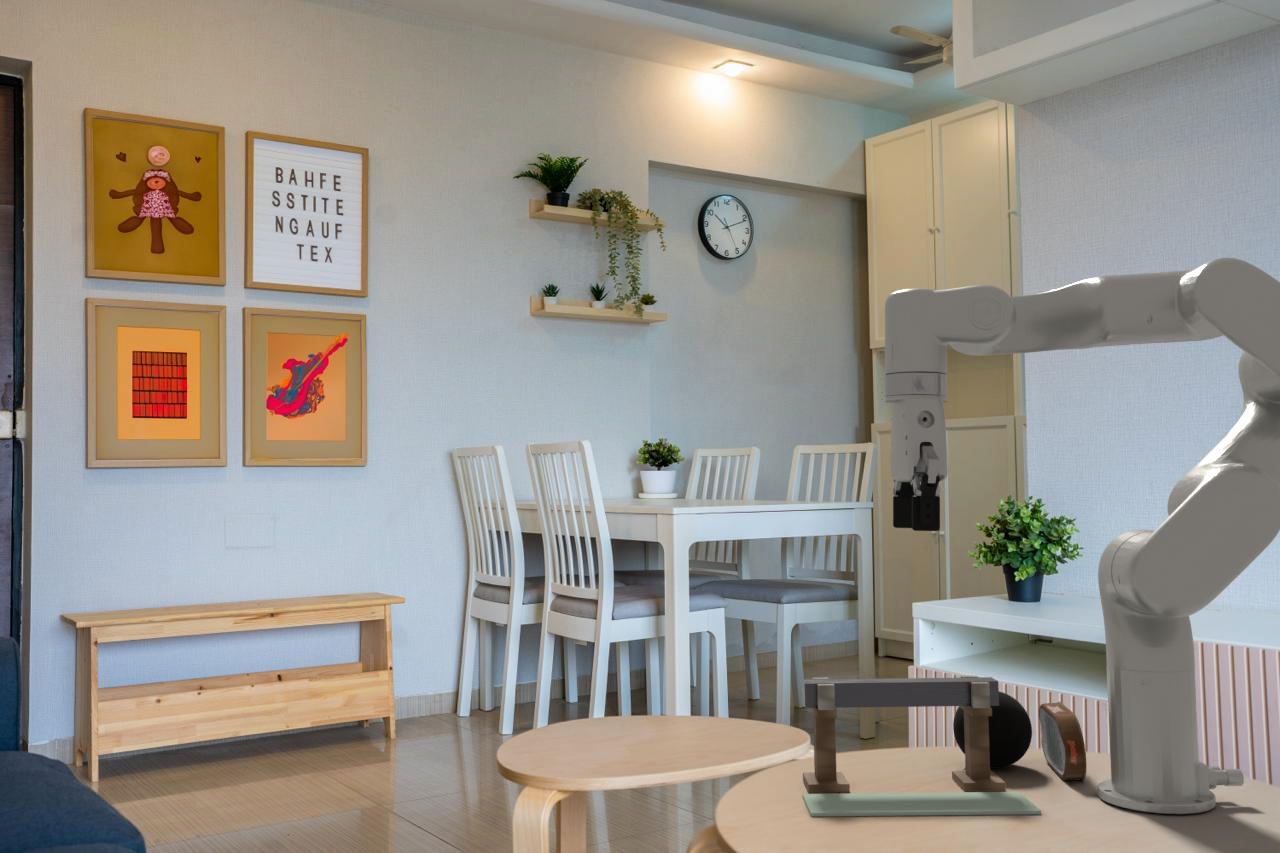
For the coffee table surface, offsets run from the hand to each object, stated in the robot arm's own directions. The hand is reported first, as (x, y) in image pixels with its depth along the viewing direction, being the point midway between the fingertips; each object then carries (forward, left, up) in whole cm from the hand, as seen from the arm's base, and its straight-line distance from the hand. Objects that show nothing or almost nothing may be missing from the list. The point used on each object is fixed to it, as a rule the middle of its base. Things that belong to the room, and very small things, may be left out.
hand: (915, 529), depth 137 cm
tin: (-20, -11, -32) cm, 40 cm away
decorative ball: (-12, -14, -32) cm, 37 cm away
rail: (+2, -5, -22) cm, 23 cm away
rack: (+2, -5, -32) cm, 32 cm away
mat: (+2, +4, -32) cm, 32 cm away
